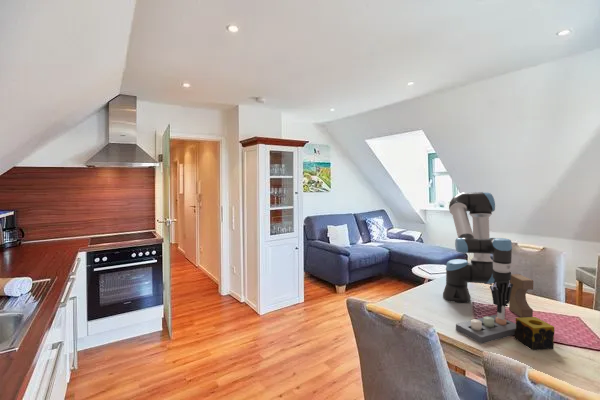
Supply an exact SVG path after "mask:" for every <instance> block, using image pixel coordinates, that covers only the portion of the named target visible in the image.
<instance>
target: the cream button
mask: <svg viewBox="0 0 600 400" xmlns="http://www.w3.org/2000/svg"><path fill="white" fill-rule="evenodd" d="M476 319H477V318H475V319H471V329H472V330H474V331H476V332H479V331H482V322H481V321H480V320H476Z"/></svg>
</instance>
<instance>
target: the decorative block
mask: <svg viewBox="0 0 600 400" xmlns="http://www.w3.org/2000/svg"><path fill="white" fill-rule="evenodd" d="M509 283H511V284H513V287H512V290H511V295H510V300H509V304H508V306H509V307H508V310H509V311H511V312H512V313H514V314H515V315H517V316H518V317H519V318H524V317H534V316H533V314H534V313H533V312H534V310H533V308H531V307H530V305H529V303H528V300H527V298H526V293H527V292H528V291H529V290H530V291H533V290H534V279H531V278H529V277H527V276H524V275H522V274H520V273H516V274H514V273H511V280H509Z"/></svg>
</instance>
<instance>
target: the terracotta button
mask: <svg viewBox="0 0 600 400" xmlns="http://www.w3.org/2000/svg"><path fill="white" fill-rule="evenodd" d="M506 320H507V319H506V318H505V320H501V319H499V318H497V317H496V323H497V324H500V325H502V326H503V325H506Z"/></svg>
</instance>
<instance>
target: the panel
mask: <svg viewBox="0 0 600 400" xmlns="http://www.w3.org/2000/svg"><path fill="white" fill-rule="evenodd" d="M487 316H488V317H492V318H494V328H491V329H489V328H487V327H485V326H483V320H484V317H485V316H483V317H480V318H475V319H476V320H480V321H481V322H482V331H479V332H476V331H474V330H472V329H471V320H472V319H471V320H467V321H466V320H465V321H463V322H458V323H455V331H458V332H459V333H461V334H463V335H465V336H467V338H470V339H472V340H474V341H475V342H477V343H479V344H481V345H482V344H486V343H489V342H494V341H497V340H500V339H504V338H509V337H513V336H515V329H516V322H513V321H510V320H508V319H506V325H503V326H502V325H500V324H497V323H496V317H497V314H492V315H487Z"/></svg>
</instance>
